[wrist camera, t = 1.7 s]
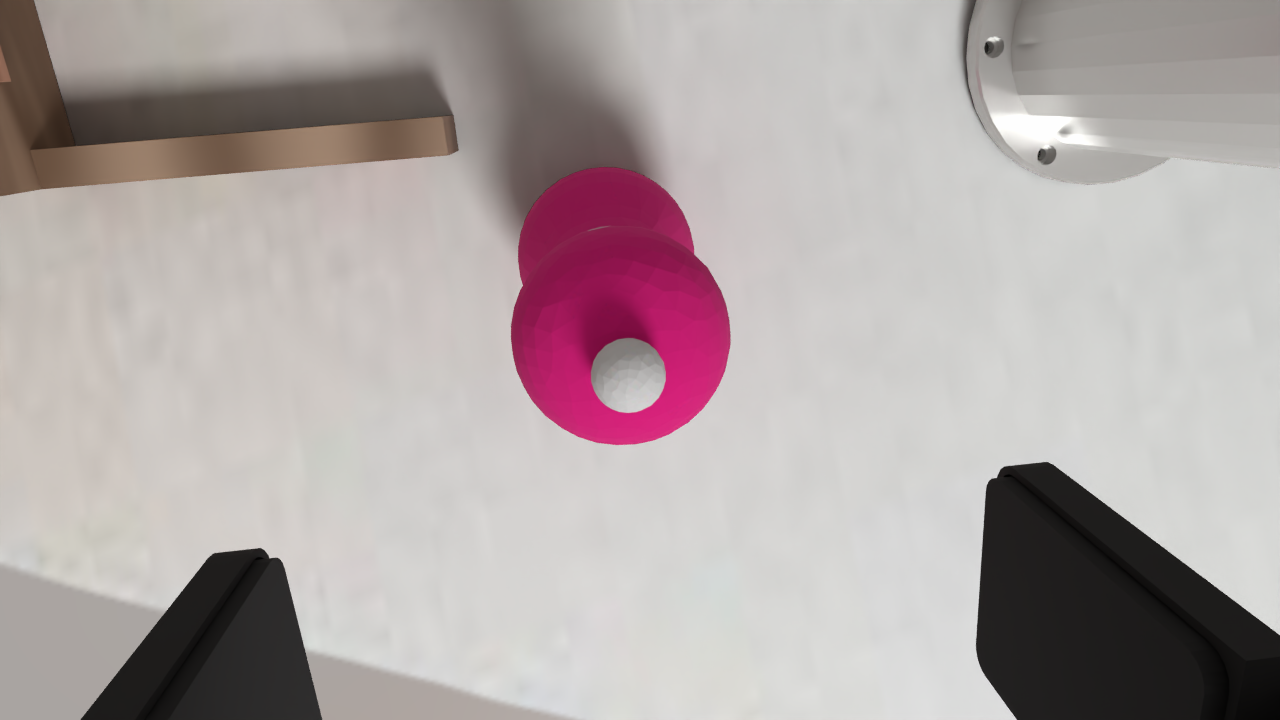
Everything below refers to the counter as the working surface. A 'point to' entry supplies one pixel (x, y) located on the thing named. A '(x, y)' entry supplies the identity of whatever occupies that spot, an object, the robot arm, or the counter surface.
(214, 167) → the spice rack
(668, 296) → the pepper mill
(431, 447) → the counter surface
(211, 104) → the counter surface
